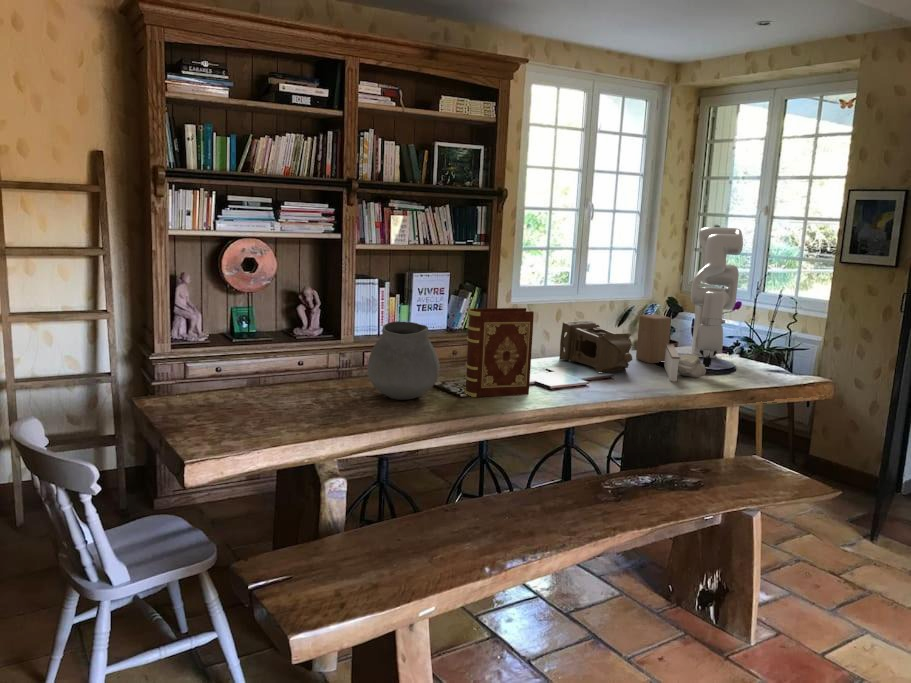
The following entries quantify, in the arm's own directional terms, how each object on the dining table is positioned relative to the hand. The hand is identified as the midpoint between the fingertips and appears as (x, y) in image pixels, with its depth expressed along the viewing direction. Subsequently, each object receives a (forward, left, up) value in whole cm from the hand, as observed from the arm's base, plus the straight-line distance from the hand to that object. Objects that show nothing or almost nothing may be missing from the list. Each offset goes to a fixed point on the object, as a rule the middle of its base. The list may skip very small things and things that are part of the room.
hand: (706, 366), depth 299 cm
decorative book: (+54, -79, -4) cm, 96 cm away
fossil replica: (+2, -7, -4) cm, 8 cm away
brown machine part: (0, -42, -4) cm, 43 cm away
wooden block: (-22, -20, -4) cm, 30 cm away
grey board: (0, -14, -4) cm, 14 cm away
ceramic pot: (+69, -109, -4) cm, 129 cm away
